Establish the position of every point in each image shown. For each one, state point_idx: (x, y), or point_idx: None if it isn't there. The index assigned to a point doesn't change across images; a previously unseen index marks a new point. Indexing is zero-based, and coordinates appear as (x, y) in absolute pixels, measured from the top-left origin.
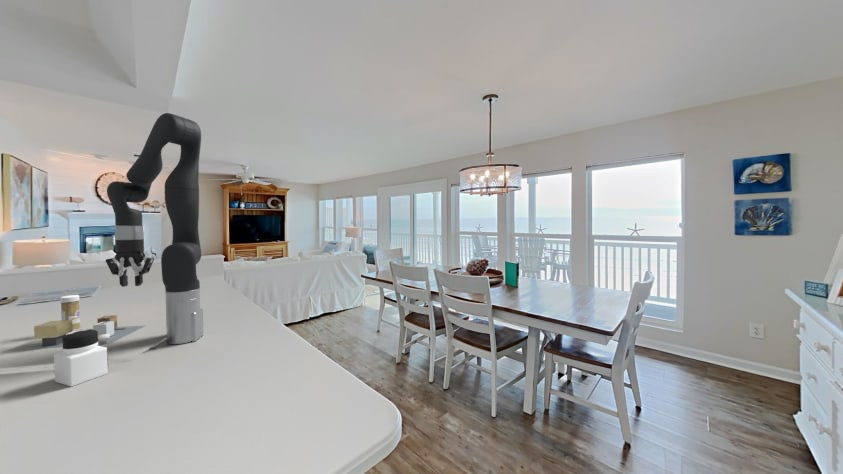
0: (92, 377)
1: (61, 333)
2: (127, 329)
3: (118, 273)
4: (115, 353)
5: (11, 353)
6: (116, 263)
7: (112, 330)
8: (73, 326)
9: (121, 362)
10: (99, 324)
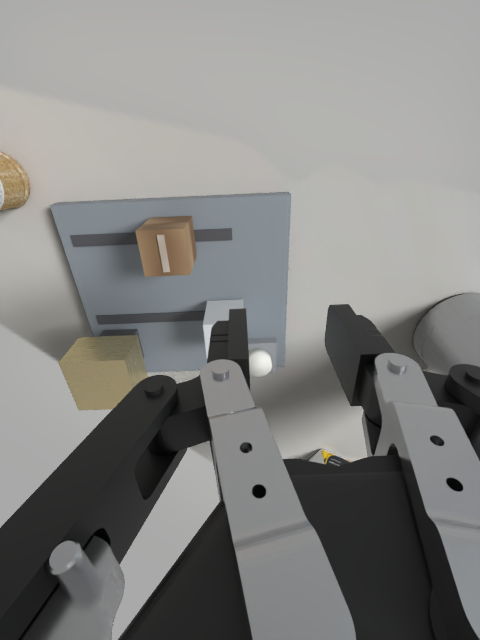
0: None
1: (143, 372)
2: (246, 241)
3: (210, 439)
4: (316, 389)
5: (50, 351)
6: (87, 514)
7: None
8: (9, 201)
9: (356, 430)
10: None
